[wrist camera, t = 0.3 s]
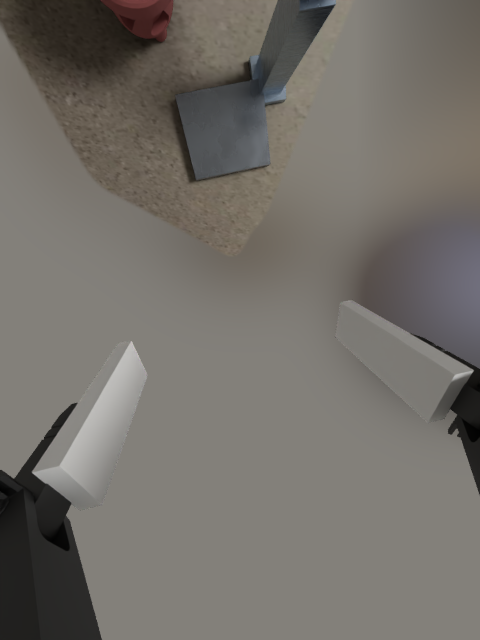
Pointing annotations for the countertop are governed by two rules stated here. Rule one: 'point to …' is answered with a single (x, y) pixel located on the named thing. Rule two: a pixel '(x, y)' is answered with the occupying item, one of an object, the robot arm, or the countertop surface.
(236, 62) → the countertop surface
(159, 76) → the countertop surface
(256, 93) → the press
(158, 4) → the mechanical component
